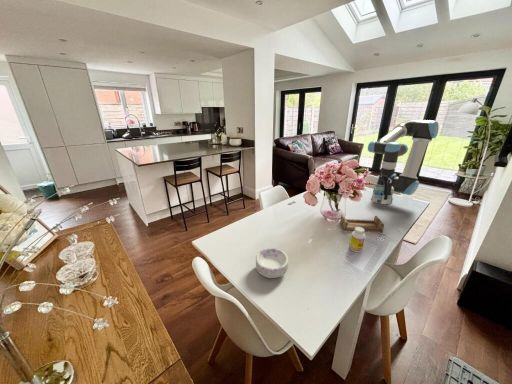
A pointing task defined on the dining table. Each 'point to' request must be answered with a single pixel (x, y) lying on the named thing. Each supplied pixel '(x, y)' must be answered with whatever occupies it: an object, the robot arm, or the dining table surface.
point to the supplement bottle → (357, 239)
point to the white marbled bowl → (272, 263)
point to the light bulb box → (380, 194)
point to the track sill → (362, 224)
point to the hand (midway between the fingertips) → (380, 201)
